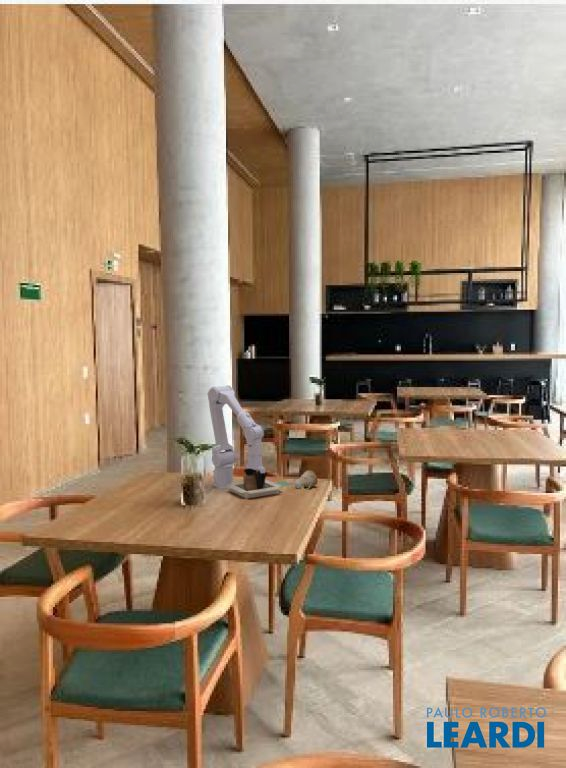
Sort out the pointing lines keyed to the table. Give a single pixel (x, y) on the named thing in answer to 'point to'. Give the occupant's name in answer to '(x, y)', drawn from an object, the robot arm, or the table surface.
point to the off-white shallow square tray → (239, 489)
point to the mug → (306, 480)
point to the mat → (284, 483)
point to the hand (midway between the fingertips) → (256, 487)
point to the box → (250, 483)
